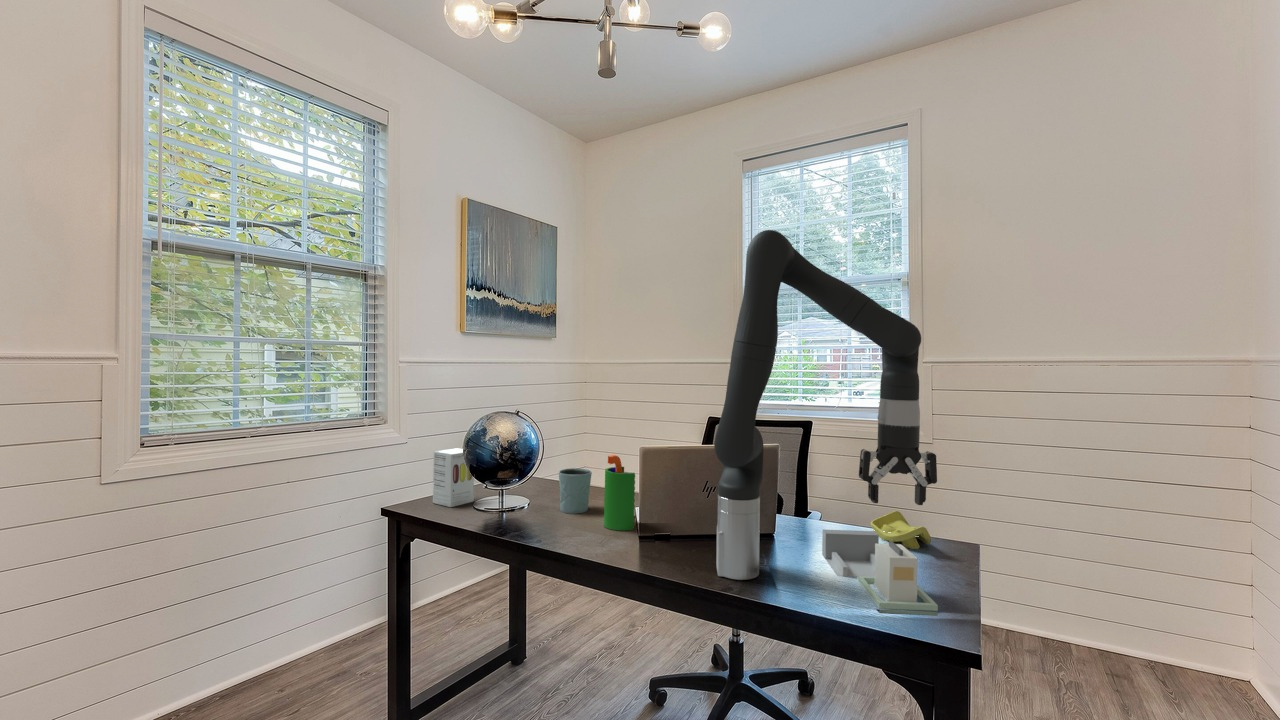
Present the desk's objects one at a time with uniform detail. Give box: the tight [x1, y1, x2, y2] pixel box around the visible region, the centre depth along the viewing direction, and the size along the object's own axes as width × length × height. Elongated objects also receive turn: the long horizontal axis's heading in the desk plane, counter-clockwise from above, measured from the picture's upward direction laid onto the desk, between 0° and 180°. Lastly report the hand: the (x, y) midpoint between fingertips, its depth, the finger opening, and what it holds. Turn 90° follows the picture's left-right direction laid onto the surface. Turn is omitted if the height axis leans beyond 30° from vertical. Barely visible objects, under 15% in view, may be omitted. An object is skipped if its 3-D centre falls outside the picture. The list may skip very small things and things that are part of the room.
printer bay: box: [821, 529, 880, 578], centre depth 125 cm, size 12×13×7 cm
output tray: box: [857, 576, 939, 617], centre depth 110 cm, size 11×13×2 cm
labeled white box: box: [874, 541, 919, 603], centre depth 110 cm, size 5×8×10 cm, turn 176°
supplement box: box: [432, 447, 475, 508], centre depth 179 cm, size 10×9×17 cm
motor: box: [603, 454, 636, 532], centre depth 156 cm, size 10×9×20 cm
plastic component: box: [870, 510, 932, 550], centre depth 144 cm, size 20×7×10 cm
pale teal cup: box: [558, 467, 593, 515], centre depth 172 cm, size 10×10×12 cm
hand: (896, 503), depth 110 cm, fingers open, 8 cm apart
